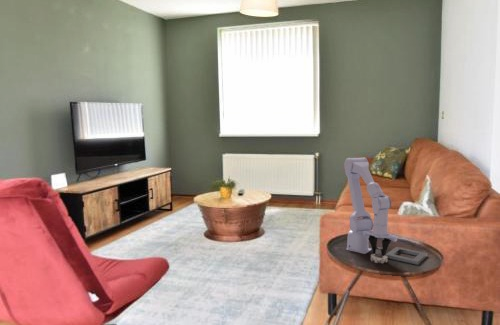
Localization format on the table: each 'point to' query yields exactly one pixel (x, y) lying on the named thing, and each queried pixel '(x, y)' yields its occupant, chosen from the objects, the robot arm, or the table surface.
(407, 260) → the carrier plate
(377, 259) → the planet gear
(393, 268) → the table surface
